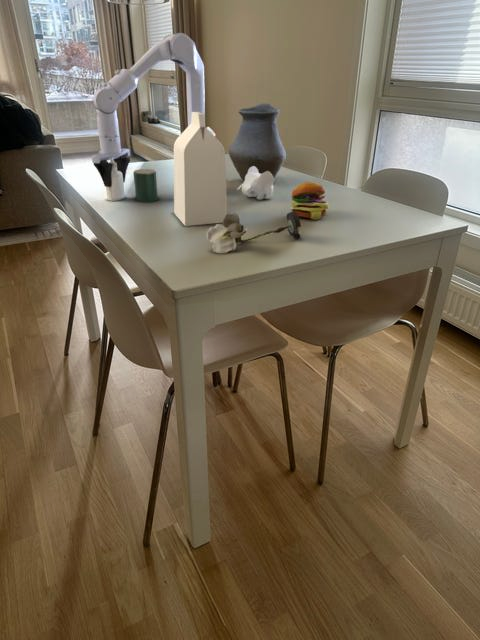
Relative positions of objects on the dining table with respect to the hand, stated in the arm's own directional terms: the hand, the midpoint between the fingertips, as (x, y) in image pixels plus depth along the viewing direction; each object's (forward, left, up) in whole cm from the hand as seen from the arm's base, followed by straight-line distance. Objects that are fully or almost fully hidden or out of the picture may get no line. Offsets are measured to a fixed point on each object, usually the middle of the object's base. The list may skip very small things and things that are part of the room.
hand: (114, 184), depth 136 cm
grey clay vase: (-27, -45, -5) cm, 53 cm away
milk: (-32, +5, -5) cm, 33 cm away
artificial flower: (-54, +17, -5) cm, 57 cm away
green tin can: (-8, -4, -4) cm, 10 cm away
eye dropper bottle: (0, 0, -5) cm, 5 cm away
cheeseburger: (-57, -12, -5) cm, 59 cm away
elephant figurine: (-37, -22, -5) cm, 44 cm away
